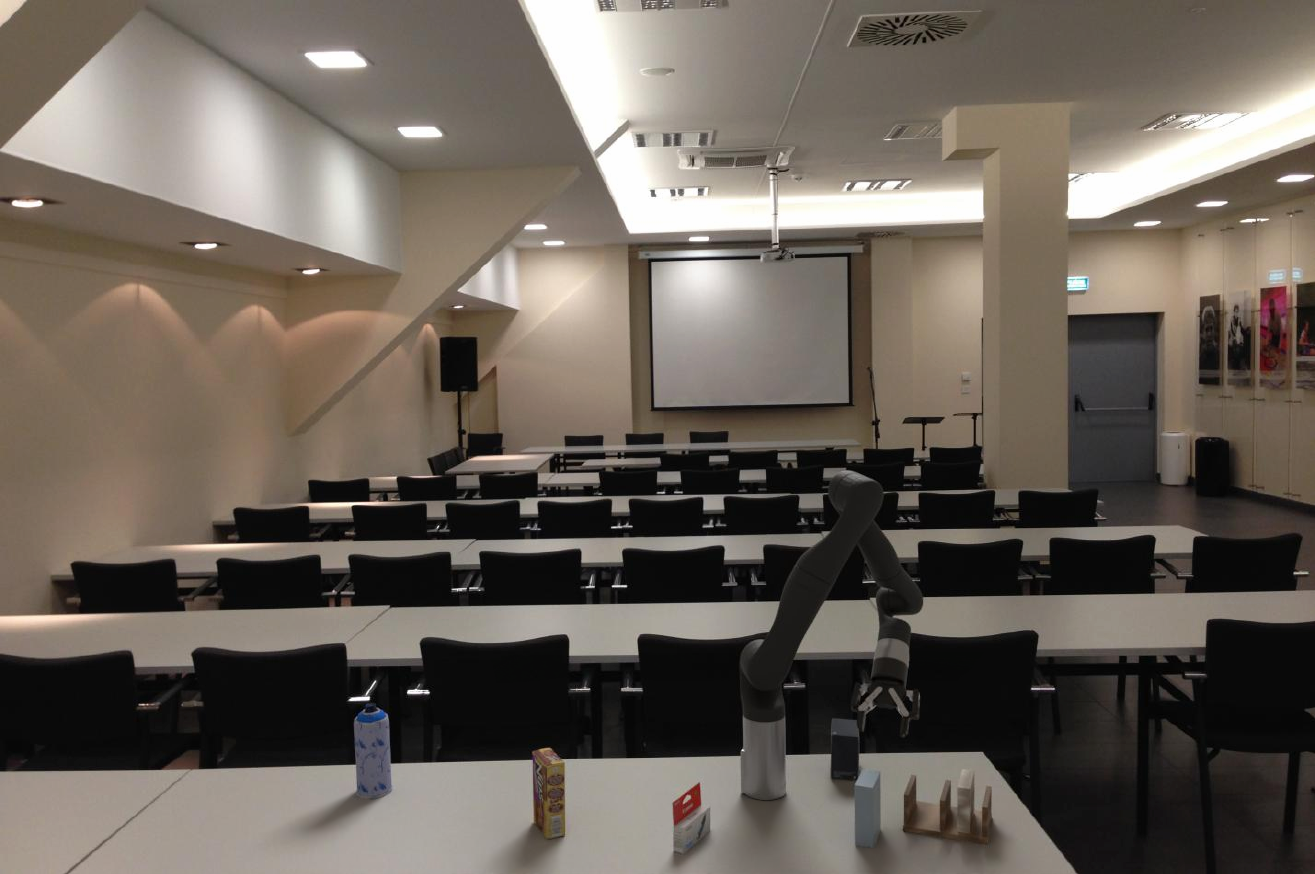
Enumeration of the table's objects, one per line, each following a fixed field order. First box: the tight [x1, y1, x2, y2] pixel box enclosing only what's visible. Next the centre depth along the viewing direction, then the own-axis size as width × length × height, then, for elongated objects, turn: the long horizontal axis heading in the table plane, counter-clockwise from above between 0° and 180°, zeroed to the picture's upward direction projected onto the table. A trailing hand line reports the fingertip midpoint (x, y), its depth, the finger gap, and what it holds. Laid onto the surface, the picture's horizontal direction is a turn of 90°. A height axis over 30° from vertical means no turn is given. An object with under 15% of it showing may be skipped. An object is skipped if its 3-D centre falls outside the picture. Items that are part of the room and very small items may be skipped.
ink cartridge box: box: [671, 781, 711, 854], centre depth 189 cm, size 2×11×10 cm, turn 148°
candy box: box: [532, 747, 566, 840], centre depth 195 cm, size 9×4×15 cm, turn 26°
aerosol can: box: [353, 702, 393, 800], centre depth 214 cm, size 8×8×20 cm
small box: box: [830, 717, 860, 781], centre depth 220 cm, size 11×6×10 cm, turn 168°
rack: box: [902, 768, 993, 846], centre depth 193 cm, size 16×12×10 cm
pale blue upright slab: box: [854, 768, 882, 848], centre depth 189 cm, size 4×8×12 cm, turn 156°
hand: (881, 733), depth 201 cm, fingers open, 8 cm apart
